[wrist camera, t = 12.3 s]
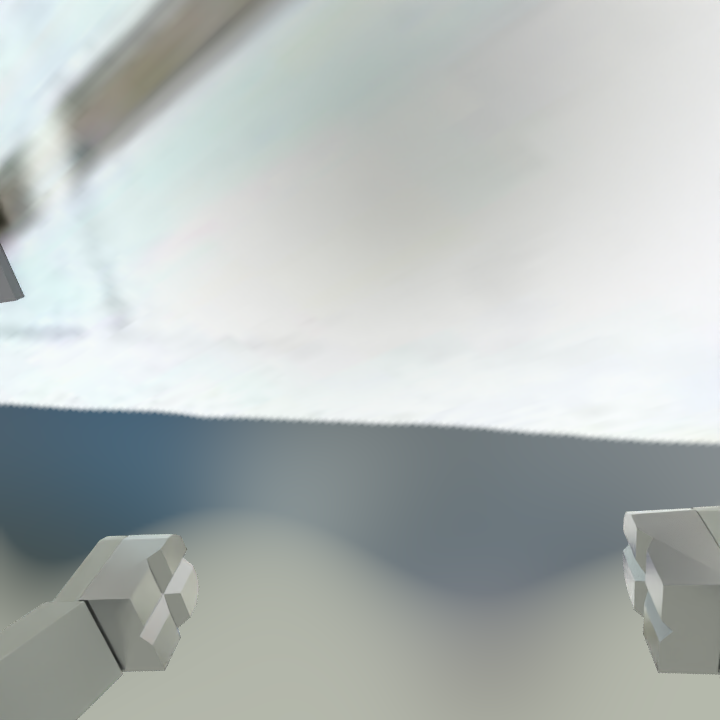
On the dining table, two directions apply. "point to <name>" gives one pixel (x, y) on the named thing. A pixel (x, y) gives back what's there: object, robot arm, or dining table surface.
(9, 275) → the mat
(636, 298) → the dining table surface
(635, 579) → the robot arm
